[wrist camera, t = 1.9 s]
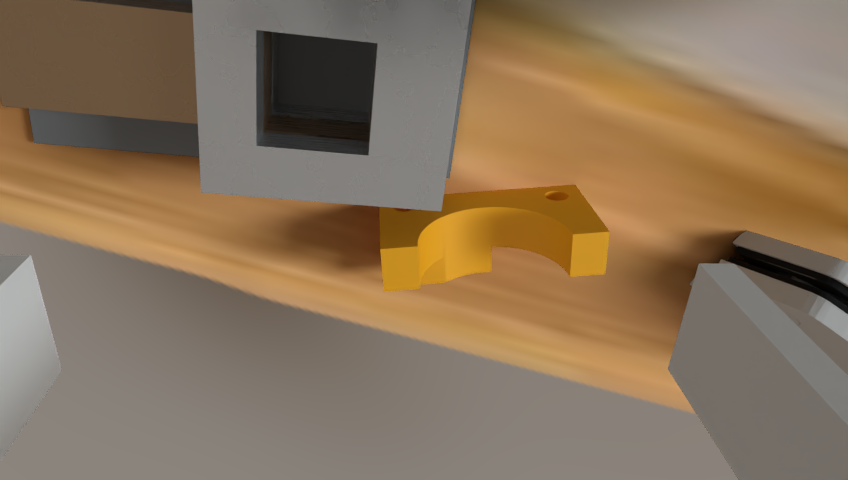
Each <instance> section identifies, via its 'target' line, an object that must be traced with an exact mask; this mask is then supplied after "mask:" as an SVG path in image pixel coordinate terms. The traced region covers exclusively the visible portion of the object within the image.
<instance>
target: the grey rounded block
mask: <svg viewBox="0 0 848 480" xmlns="http://www.w3.org/2000/svg"><path fill="white" fill-rule="evenodd" d="M733 244H734V245H735V246H737V249H736V250H735V252H736V253H737V254H738V255H739V256H741V257H742V258H743V259H744V260H745V261H746V262H747V263H746V262H743V261H740V260H737V259H735V258H732V257H730V259H729V260H728V261H725V260H722V259H721V260H720V262H719V264H735V265H736V266H737V267H738V268H739V269H740V270H741V271H742V272H743V273H744V274H745V275H746V276H747V277H748V278H749V279H750V280H751V281H752V282H753V283H754V284H755V285H756V286H758V287H759V288H760V289H761V290H762V291H763V292H764V293H765V294H766V295H767V296H768V297H769V298H770V299H771V300H772V301H773V302H774V303H775V304H776V305H777V306H778V307H779V308H780V309H781V310H782V311H783V312H784V313H785V314H786V315H787V316H788V317H789V318H790V319H791V320H792V321H793V322H794V323H795V324H796V325H797V326H798V327H799V328H800V329H801V330H802V331H803V332H804V333H805V334H806V335H807V336H808V337H809V338H810V339H811V340H812V341H813V342H814V343H815V344H816V345H817V346H818V347H819V348H820V349H821V350H822V351H823V352H825V353H826V354H827V355H828V356H829V357H830V358H831V359H832V360H833V361H834V362H835V363H836V364H837V365H838V366H839V367H840V368H841V369H842V370H843V371H844V372H845V373H846V374H847V375H848V262H846V261H843V260H841V259H839V258H836V257H832V256H829V255H826V254H822V253H819V252H816V251H813V250H809V249H806V248H803V247H800V246H796V245H793V244H790V243H786V242H783V241H780V240H777V239H773V238H770V237H767V236H763V235H760V234H757V233H754V232H750V231H745V232H744V233H742V234H740V235H739V236H738V237H737V238H736V239H735V240H734V241H733ZM693 282H694V279H693V280H692V281H691V282H690V284H689V285H690V286H692V285H693Z"/></svg>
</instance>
